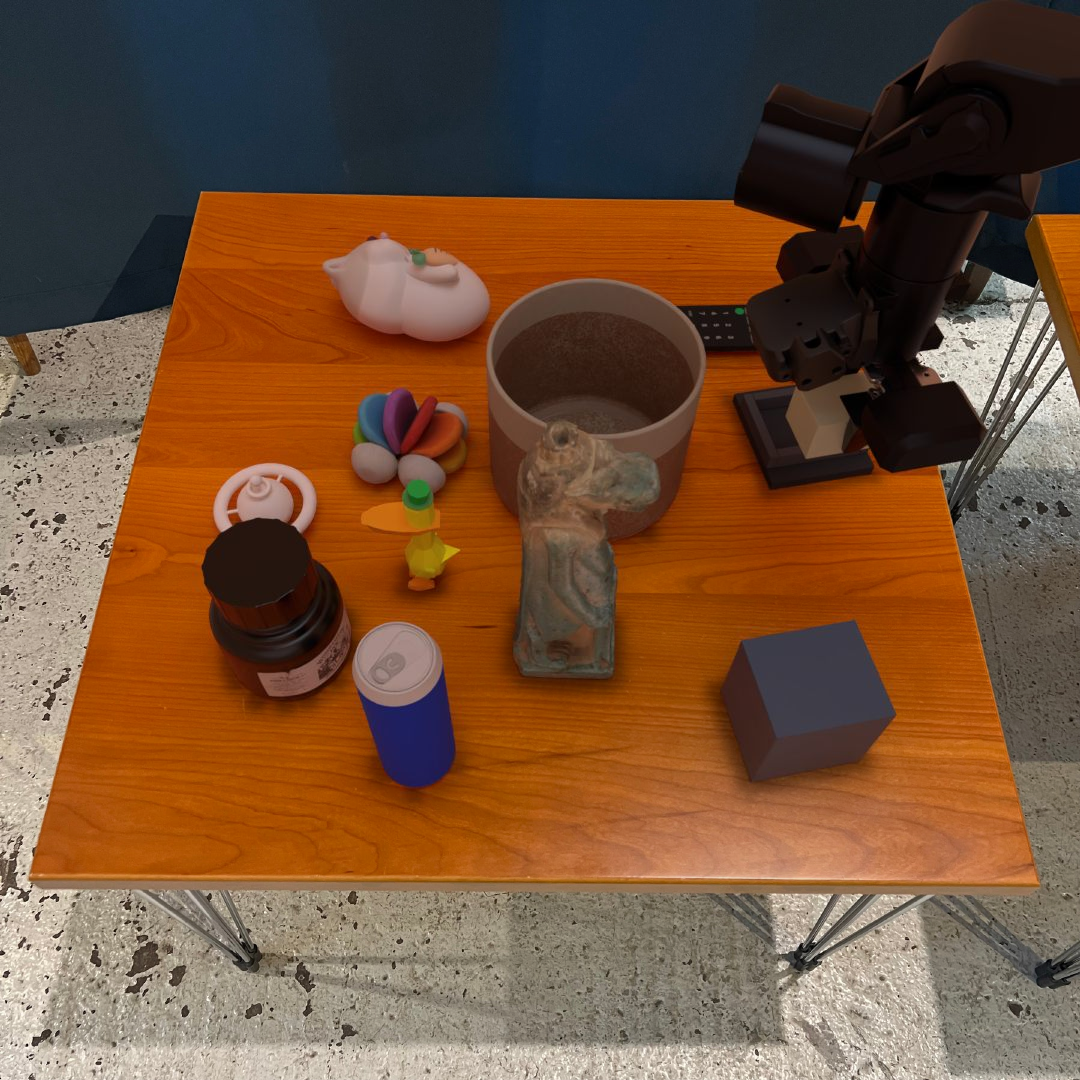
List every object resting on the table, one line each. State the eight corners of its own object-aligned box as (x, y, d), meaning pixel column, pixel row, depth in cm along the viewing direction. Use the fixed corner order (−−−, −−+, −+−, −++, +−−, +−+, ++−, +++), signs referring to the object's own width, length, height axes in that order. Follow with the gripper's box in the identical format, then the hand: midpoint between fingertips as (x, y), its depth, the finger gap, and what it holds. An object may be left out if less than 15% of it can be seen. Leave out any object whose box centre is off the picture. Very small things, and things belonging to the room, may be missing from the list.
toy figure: (374, 600, 74) (351, 509, 64) (378, 560, 76) (356, 466, 66) (463, 599, 74) (454, 508, 64) (464, 560, 76) (455, 465, 66)
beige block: (863, 403, 70) (878, 369, 67) (886, 445, 68) (903, 412, 65) (784, 416, 69) (796, 382, 66) (805, 459, 67) (818, 426, 64)
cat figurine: (498, 246, 82) (324, 208, 82) (478, 338, 82) (304, 301, 82) (499, 279, 92) (343, 245, 92) (481, 362, 92) (325, 328, 91)
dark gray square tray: (828, 386, 87) (835, 367, 85) (871, 474, 82) (880, 455, 79) (732, 400, 86) (737, 381, 84) (769, 490, 80) (776, 472, 78)
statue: (629, 688, 70) (676, 481, 49) (514, 693, 70) (511, 486, 49) (620, 605, 74) (659, 380, 53) (510, 609, 74) (507, 385, 53)
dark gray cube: (824, 671, 71) (855, 618, 65) (860, 761, 68) (897, 715, 61) (719, 690, 70) (740, 639, 64) (750, 783, 67) (776, 738, 60)
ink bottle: (296, 730, 68) (258, 652, 58) (202, 668, 71) (149, 584, 61) (380, 626, 73) (358, 538, 63) (289, 572, 75) (254, 479, 65)
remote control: (515, 318, 91) (515, 307, 90) (769, 315, 92) (772, 304, 91) (516, 360, 88) (516, 349, 87) (778, 355, 89) (782, 345, 88)
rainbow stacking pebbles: (450, 511, 79) (444, 455, 73) (339, 482, 80) (324, 425, 74) (483, 433, 83) (480, 374, 77) (377, 408, 85) (366, 348, 79)
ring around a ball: (313, 469, 81) (215, 487, 79) (301, 426, 76) (196, 445, 75) (326, 549, 77) (223, 569, 75) (314, 510, 72) (204, 531, 71)
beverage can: (417, 705, 69) (394, 601, 57) (471, 749, 68) (460, 651, 55) (365, 758, 67) (330, 662, 55) (420, 805, 65) (396, 717, 53)
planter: (714, 509, 79) (748, 395, 68) (537, 576, 75) (540, 467, 64) (626, 377, 87) (643, 255, 76) (462, 431, 83) (453, 311, 72)
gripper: (725, 165, 59) (687, 348, 72) (843, 391, 49) (774, 557, 62) (895, 143, 60) (827, 327, 73) (1043, 359, 50) (935, 527, 63)
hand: (836, 427), depth 68 cm, fingers closed on beige block, 4 cm apart
